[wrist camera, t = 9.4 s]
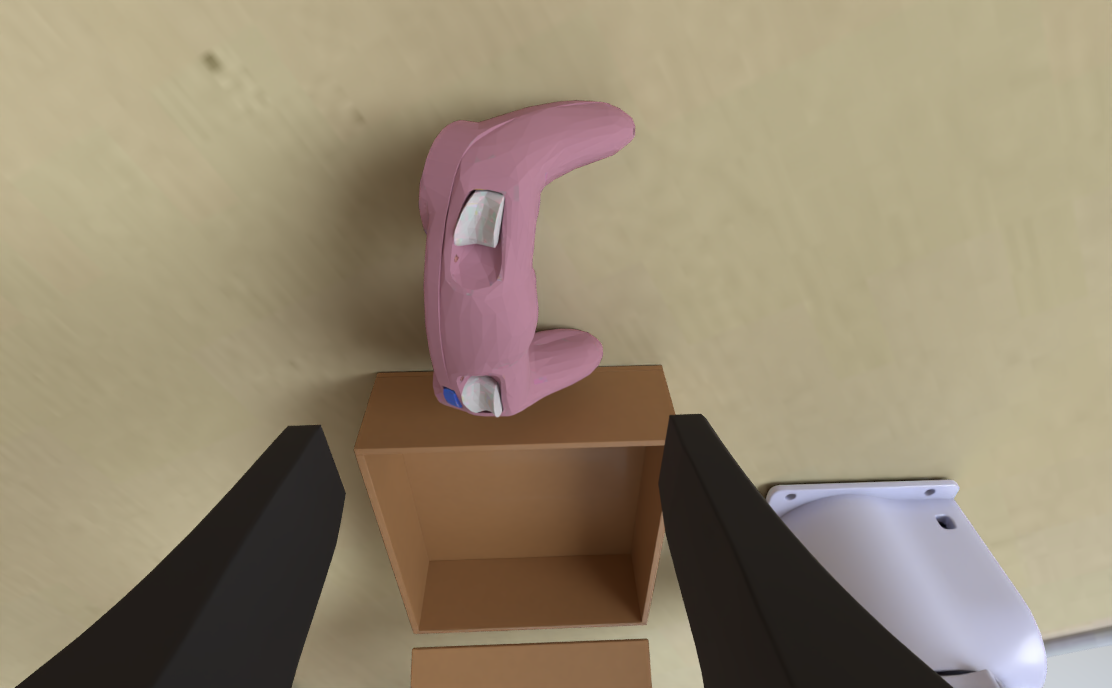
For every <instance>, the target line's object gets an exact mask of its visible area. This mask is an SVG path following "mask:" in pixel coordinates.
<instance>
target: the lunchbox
mask: <svg viewBox="0 0 1112 688" xmlns="http://www.w3.org/2000/svg"><path fill="white" fill-rule="evenodd" d="M433 373H434V371H428V372H390V373H377V376H376V379H375V382H374V386H373V389H372V392H371V395H370V398H369V402H368V405H367V408H366V411H365V414H364V418H363V421H362V424H361V427H360V430H359V434H358V437H357V440H356V443H355V446H354V453H355V456H356V459H357V462H358V465H359V468H360V471H361V474H362V477H363V480H364V483H365V486H366V489H367V492H368V495H369V498H370V501H371V504H372V507H373V511H374V514H375V517H376V520H377V523H378V526H379V529H380V532H381V535H382V538H383V541H384V544H385V547H386V550H387V553H388V556H389V559H390V562H391V565H392V568H393V572H394V575H395V578H396V581H397V584H398V587H399V590H400V593H401V596H402V599H403V602H404V605H405V608H406V611H407V614H408V617H409V620H410V623H411V626H412V630H413V633H414V634H425V633H451V632H477V631H503V630H529V629H555V628H581V627H607V626H633V625H647V621H648V616H649V610H650V605H651V600H652V595H653V590H654V585H655V579H656V574H657V569H658V564H659V559H660V553H661V548H662V543H663V538H664V533H665V527H664V520H663V514H662V507H661V500H660V493H659V486H658V481H659V475H660V469H661V463H662V457H663V451H664V445H665V439H666V433H667V427H668V421H669V415H675V411H674V408H673V404H672V400H671V397H670V393H669V390H668V386H667V382H666V379H665V375H664V372H663V368H662V365H653V366H616V367H596V369H595V370H594V371H593V372H592V373H591V374H590V375H588V376H587V377H585V378H583V379H582V380H580V381H578V382H576V383H574V384H572V385H570V386H568V387H566V388H563V389H561V390H559V391H557V392H554V393H552V394H550V395H548V396H545V397H544V398H542V399H540V400H538V401H537V402H535V403H534V404H532V405H531V406H529V407H527V408H526V409H524V410H523V411H521V412H519V413H517V414H515V415H512V416H499V417H496V416H476V415H472V414H469V413H468V412H465V411H462V410H459V409H456V408H453V407H450V406H446V405H444V404H442V403H440V402H439V401H438V400H437V398H436V396H435V393H434V389H433Z"/></svg>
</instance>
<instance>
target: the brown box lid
mask: <svg viewBox="0 0 1112 688" xmlns="http://www.w3.org/2000/svg"><path fill="white" fill-rule="evenodd" d="M411 688H652V682H651V668H650V654H649V641H648V639H625V640H599V641H574V642H548V643H522V644H497V645H471V646H446V647H420V648H413V649H412V665H411Z"/></svg>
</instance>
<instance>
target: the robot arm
mask: <svg viewBox="0 0 1112 688" xmlns="http://www.w3.org/2000/svg"><path fill="white" fill-rule="evenodd" d="M658 486H659V493H660V500H661V507H662V514H663V520H664V527H665V533H666V537H667V541H668V545H669V549H670V552H671V556H672V560H673V564H674V568H675V571H676V575H677V579H678V583H679V586H680V590H681V594H682V597H683V601H684V605H685V609H686V612H687V616H688V620H689V623H690V627H691V631H692V635H693V638H694V642H695V646H696V650H697V654H698V659H699V663H700V667H701V672H702V677H703V683H704V688H1043V685H1044V682H1045V678H1046V673H1047V658H1046V652H1045V647H1044V644H1043V640H1042V637H1041V633H1040V631H1039V628H1038V626H1037V623H1036V621H1035V619H1034V617H1033V615H1032V613H1031V611H1030V609H1029V607H1028V606H1027V604H1026V602H1025V601H1024V599H1023V598H1022V596H1021V595H1020V593H1019V592H1018V591H1017V589H1016V588H1015V586H1014V585H1013V583H1012V582H1011V580H1010V579H1009V578H1008V576H1007V575H1006V573H1005V572H1004V570H1003V569H1002V568H1001V566H1000V565H999V563H998V562H997V560H996V559H995V557H994V556H993V555H992V553H991V552H990V550H989V549H988V547H987V546H986V545H985V543H984V542H983V540H982V539H981V537H980V536H979V534H978V533H977V532H976V530H975V529H974V527H973V526H972V524H971V523H970V522H969V520H968V519H967V517H966V516H965V514H964V513H963V511H962V510H961V509H960V507H959V506H958V504H957V503H956V501H955V500H954V499H953V498H954V497H955V495H956V494H957V493H958V491H959V486H958V484H957V483H956V482H955V481H954V480H919V481H888V482H857V483H826V484H795V485H777V486H774V487H772V488H771V489H770V490H769V491H768V494H767V497H766V500H765V499H764V497H763V496H762V495H761V494H760V492H759V491H758V490H757V489H756V487H755V486H754V485H753V484H752V482H751V481H750V480H749V478H748V477H747V476H746V474H745V473H744V472H743V470H742V469H741V468H740V466H739V465H738V464H737V462H736V461H735V459H734V458H733V457H732V455H731V454H730V453H729V451H728V450H727V448H726V447H725V446H724V444H723V443H722V441H721V440H720V438H719V437H718V435H717V434H716V433H715V431H714V430H713V428H712V427H711V425H710V424H709V422H708V421H707V419H706V418H705V417H704V416H703V415H702V414H684V415H669V421H668V427H667V433H666V439H665V445H664V451H663V457H662V463H661V469H660V475H659V481H658ZM345 495H346V493H345V490H344V487H343V484H342V482H341V479H340V476H339V473H338V471H337V468H336V465H335V463H334V460H333V457H332V454H331V452H330V449H329V446H328V443H327V441H326V438H325V435H324V432H323V430H322V427H321V425H303V426H288V427H287V428H286V429H285V430H284V431H283V432H282V433H281V434H280V435H279V436H278V437H277V438H276V439H275V441H274V442H273V443H272V444H271V445H270V446H269V447H268V448H267V450H266V451H265V452H264V453H263V454H262V455H261V456H260V457H259V459H258V460H257V461H256V462H255V463H254V464H253V465H252V466H251V468H250V469H249V470H248V471H247V472H246V473H245V474H244V475H243V476H242V478H241V479H240V480H239V481H238V482H237V483H236V484H235V485H234V487H233V488H232V489H231V490H230V491H229V492H228V493H227V494H226V495H225V496H224V497H223V498H222V500H221V501H220V502H219V503H218V504H217V505H216V506H215V507H214V508H213V509H212V510H211V511H210V512H209V513H208V515H207V516H206V517H205V518H204V519H203V520H202V521H201V522H200V523H199V524H198V525H197V526H196V527H195V528H194V529H193V530H192V531H191V533H190V534H189V535H188V536H187V537H186V538H185V539H184V540H183V541H182V542H181V543H180V544H179V545H178V546H176V547H175V548H174V549H173V550H172V551H171V552H170V553H169V554H168V555H167V556H166V557H165V558H164V559H163V560H162V561H161V562H160V563H159V564H158V565H157V566H156V567H155V568H154V569H153V570H152V571H151V572H150V573H149V574H148V575H147V576H146V577H145V578H144V579H143V580H142V581H141V582H140V583H139V584H138V585H137V586H135V587H134V588H133V589H132V590H131V591H130V592H129V593H128V594H127V595H126V596H125V597H124V598H122V599H121V600H120V601H119V602H118V603H117V604H116V605H115V606H113V607H112V608H111V609H110V610H109V611H108V612H107V613H106V614H104V615H103V616H102V617H101V618H100V619H99V620H98V621H96V622H95V623H94V624H93V625H92V626H91V627H90V628H88V629H87V630H86V631H85V632H84V633H82V634H81V635H80V636H79V637H78V638H76V639H75V640H74V641H73V642H72V643H70V644H69V645H68V646H67V647H65V648H64V649H63V650H62V651H60V652H59V653H58V654H57V655H55V656H54V657H53V658H52V659H50V660H49V661H48V662H46V663H45V664H44V665H43V666H41V667H40V668H39V669H38V670H36V671H35V672H34V673H33V674H31V675H30V676H29V677H28V678H26V679H25V680H24V681H23V682H21V683H20V684H19V685H18V686H16V687H15V688H291V687H292V683H293V680H294V676H295V673H296V669H297V665H298V662H299V659H300V656H301V653H302V650H303V647H304V644H305V640H306V637H307V634H308V631H309V628H310V625H311V622H312V619H313V616H314V613H315V610H316V607H317V604H318V600H319V597H320V594H321V591H322V588H323V585H324V582H325V579H326V576H327V572H328V569H329V566H330V563H331V560H332V557H333V553H334V550H335V547H336V543H337V538H338V533H339V528H340V523H341V518H342V512H343V507H344V501H345Z"/></svg>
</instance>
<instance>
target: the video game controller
mask: <svg viewBox="0 0 1112 688" xmlns="http://www.w3.org/2000/svg"><path fill="white" fill-rule="evenodd" d="M634 136H635V124H634V122H633V119H632V118H631V117H630V116H629V115H628V114H627V113H625V112H624V111H623V110H621V109H620V108H618V107H615V106H613V105H610V104H608V103H604V102H594V101H561V102H553V103H548V104H542V105H537V106H531V107H526V108H523V109H520V110H517V111H513V112H510V113H507V114H504V115H501V116H497V117H494V118H491V119H488V120H484V121H481V122H472V121H464V120H458V121H455V122H453V123H451V124H449V125H447V126H446V127H445V128H443V129H442V130H441V132H440V133H439V134H438V136H437V137H436V139H435V140H434V142H433V144H432V146H431V148H430V151H429V153H428V156H427V159H426V162H425V166H424V169H423V173H422V177H421V180H420V190H419V210H420V216H421V220H422V224H423V228H424V231H425V232H426V234H427V239H426V250H425V268H424V308H425V326H426V333H427V340H428V346H429V352H430V356H431V361H432V365H433V369H434V373H433V389H434V393H435V396H436V398H437V400H438V401H439V402H440V403H442V404H444V405H446V406H450V407H453V408H456V409H459V410H462V411H465V412H468V413H469V414H472V415H476V416H496V417H499V416H512V415H515V414H517V413H519V412H521V411H523V410H524V409H526V408H527V407H529V406H531V405H532V404H534V403H535V402H537V401H538V400H540V399H542V398H544V397H545V396H548V395H550V394H552V393H554V392H557V391H559V390H561V389H563V388H566V387H568V386H570V385H572V384H574V383H576V382H578V381H580V380H582V379H583V378H585V377H587V376H588V375H590V374H591V373H592V372H593V371H594V370H595V369H596V367H597V366H598V365H599V363H600V361H601V359H602V356H603V347H602V344H601V342H600V341H599V340H598V339H597V338H596V337H594V336H593V335H591V334H589V333H588V332H584V331H580V330H577V329H553V330H545V331H540V332H535V330H536V326H537V321H538V300H537V290H536V275H535V271H534V269H533V267H532V260H533V250H534V240H535V230H536V221H537V217H538V213H539V206H540V193H541V191H542V190H543V188H544V187H545V186H546V185H547V184H549V183H550V182H552V181H553V180H554V179H556V178H558V177H560V176H562V175H564V174H566V173H568V172H570V171H572V170H574V169H576V168H579V167H582V166H584V165H587V164H590V163H593V162H596V161H598V160H601V159H604V158H607V157H609V156H612V155H614V154H616V153H617V152H618V151H619V150H621V149H622V148H623V147H624V146H626V145H627V144H628V143H629V142H631V140H632V139H633V138H634Z"/></svg>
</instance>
